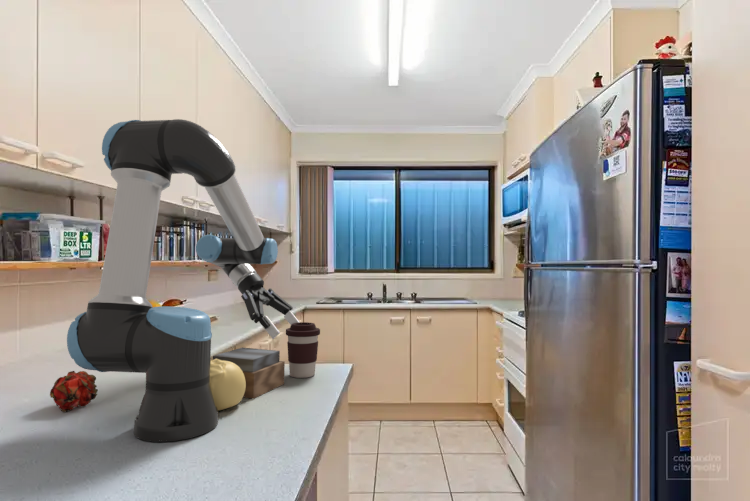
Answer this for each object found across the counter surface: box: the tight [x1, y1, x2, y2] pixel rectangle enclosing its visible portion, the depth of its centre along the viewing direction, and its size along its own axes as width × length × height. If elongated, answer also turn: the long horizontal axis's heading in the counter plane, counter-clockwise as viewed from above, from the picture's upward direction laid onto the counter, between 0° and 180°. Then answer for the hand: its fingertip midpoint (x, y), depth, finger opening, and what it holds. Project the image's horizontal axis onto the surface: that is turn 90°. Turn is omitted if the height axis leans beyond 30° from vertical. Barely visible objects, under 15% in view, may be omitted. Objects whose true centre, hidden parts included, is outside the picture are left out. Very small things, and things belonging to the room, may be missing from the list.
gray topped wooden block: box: [212, 347, 286, 399], centre depth 115 cm, size 14×14×9 cm
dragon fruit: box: [49, 370, 99, 413], centre depth 98 cm, size 8×8×12 cm
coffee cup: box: [285, 321, 321, 379], centre depth 128 cm, size 10×10×15 cm
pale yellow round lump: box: [210, 359, 246, 412], centre depth 100 cm, size 12×12×11 cm
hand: (288, 332), depth 132 cm, fingers open, 13 cm apart
